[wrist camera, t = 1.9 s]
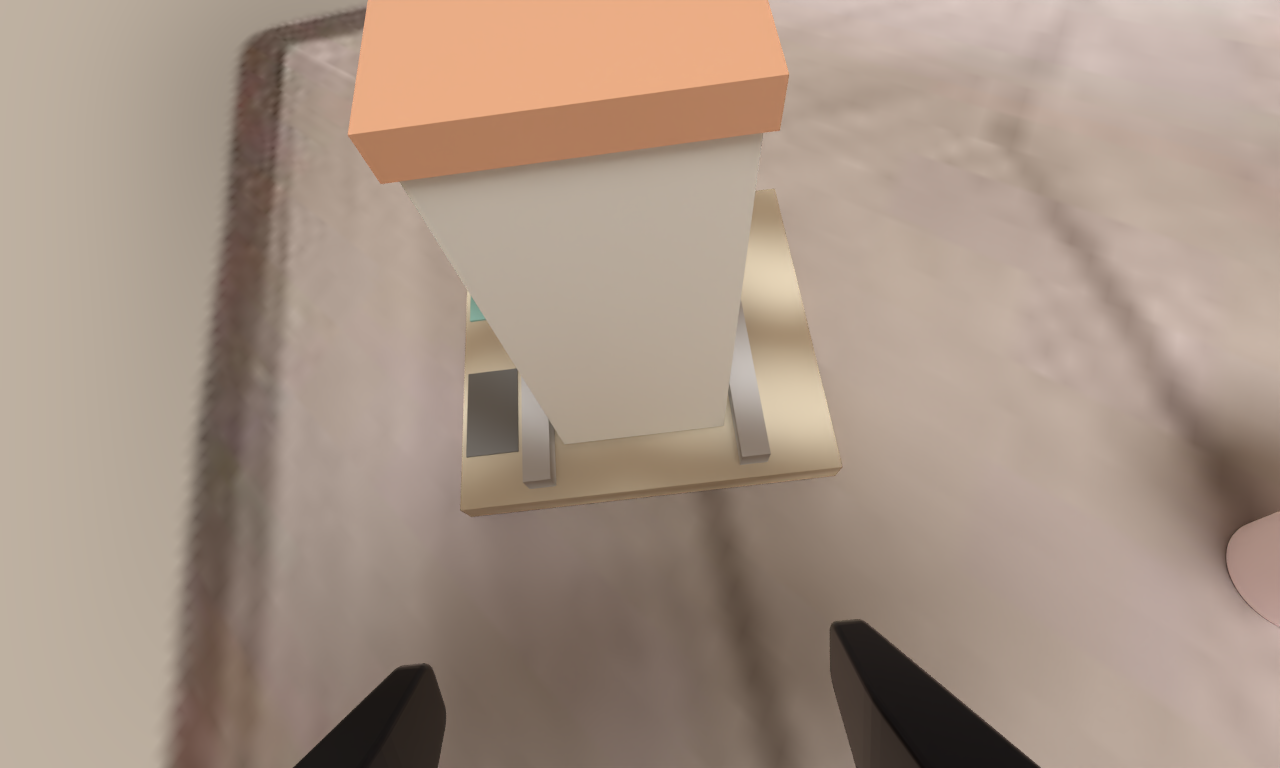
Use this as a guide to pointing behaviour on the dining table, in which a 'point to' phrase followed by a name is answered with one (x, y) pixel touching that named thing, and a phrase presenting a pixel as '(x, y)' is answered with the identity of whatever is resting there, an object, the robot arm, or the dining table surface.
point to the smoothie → (1257, 565)
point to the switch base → (665, 462)
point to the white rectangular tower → (584, 184)
